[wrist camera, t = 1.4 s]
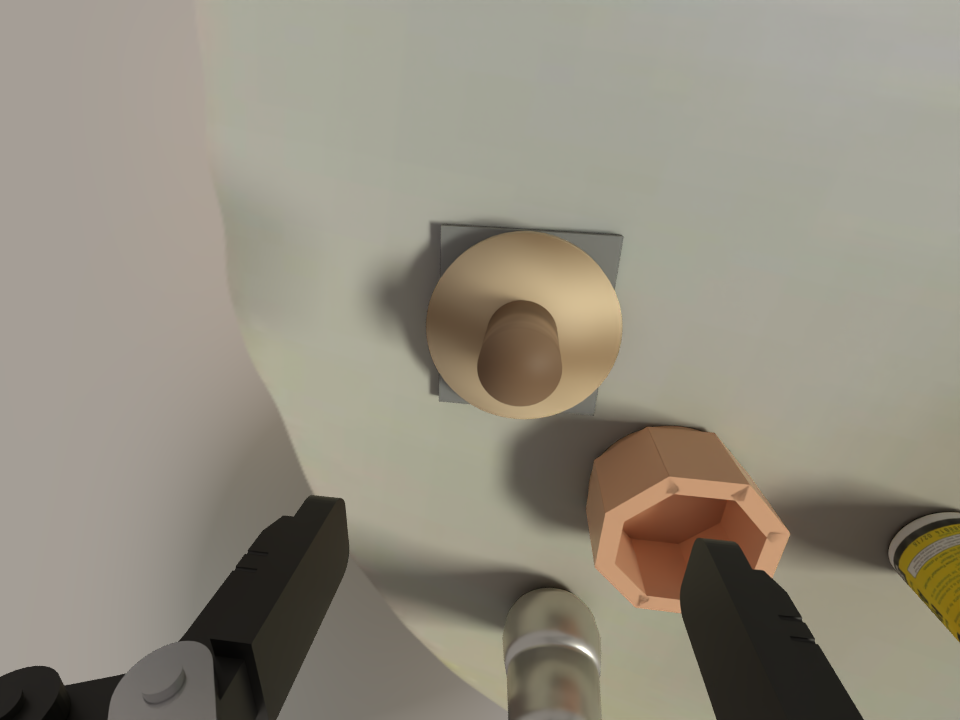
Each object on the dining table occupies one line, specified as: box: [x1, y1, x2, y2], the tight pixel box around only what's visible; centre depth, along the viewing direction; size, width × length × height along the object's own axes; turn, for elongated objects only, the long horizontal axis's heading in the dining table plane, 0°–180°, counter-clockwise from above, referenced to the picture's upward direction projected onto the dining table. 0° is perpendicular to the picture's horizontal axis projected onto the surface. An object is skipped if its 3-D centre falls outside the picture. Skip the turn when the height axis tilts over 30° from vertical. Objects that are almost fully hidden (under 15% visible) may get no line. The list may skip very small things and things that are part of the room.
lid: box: [426, 231, 622, 419], centre depth 22 cm, size 10×10×6 cm
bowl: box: [586, 426, 790, 613], centre depth 26 cm, size 9×9×5 cm
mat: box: [439, 224, 623, 416], centre depth 25 cm, size 10×9×1 cm
